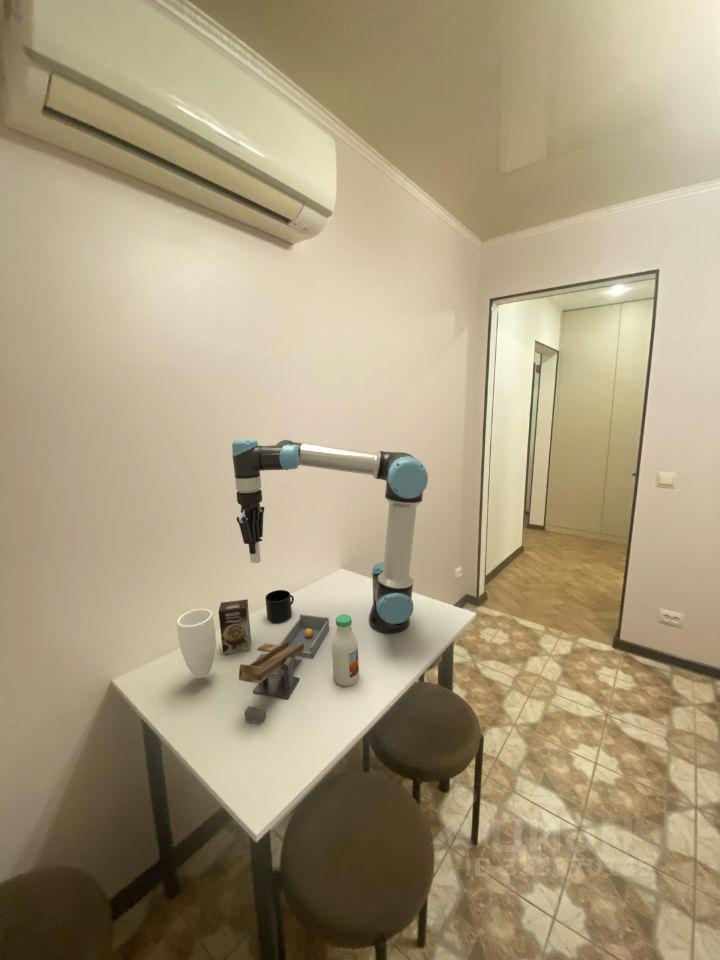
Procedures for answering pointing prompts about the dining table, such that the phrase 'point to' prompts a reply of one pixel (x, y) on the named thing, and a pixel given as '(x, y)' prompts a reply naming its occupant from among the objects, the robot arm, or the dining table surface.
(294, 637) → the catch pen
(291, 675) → the fulcrum
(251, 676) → the lever
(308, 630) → the ball
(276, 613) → the mug
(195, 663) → the cup
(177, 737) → the dining table surface
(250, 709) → the block
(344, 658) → the milk bottle
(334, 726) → the dining table surface
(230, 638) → the coffee box
